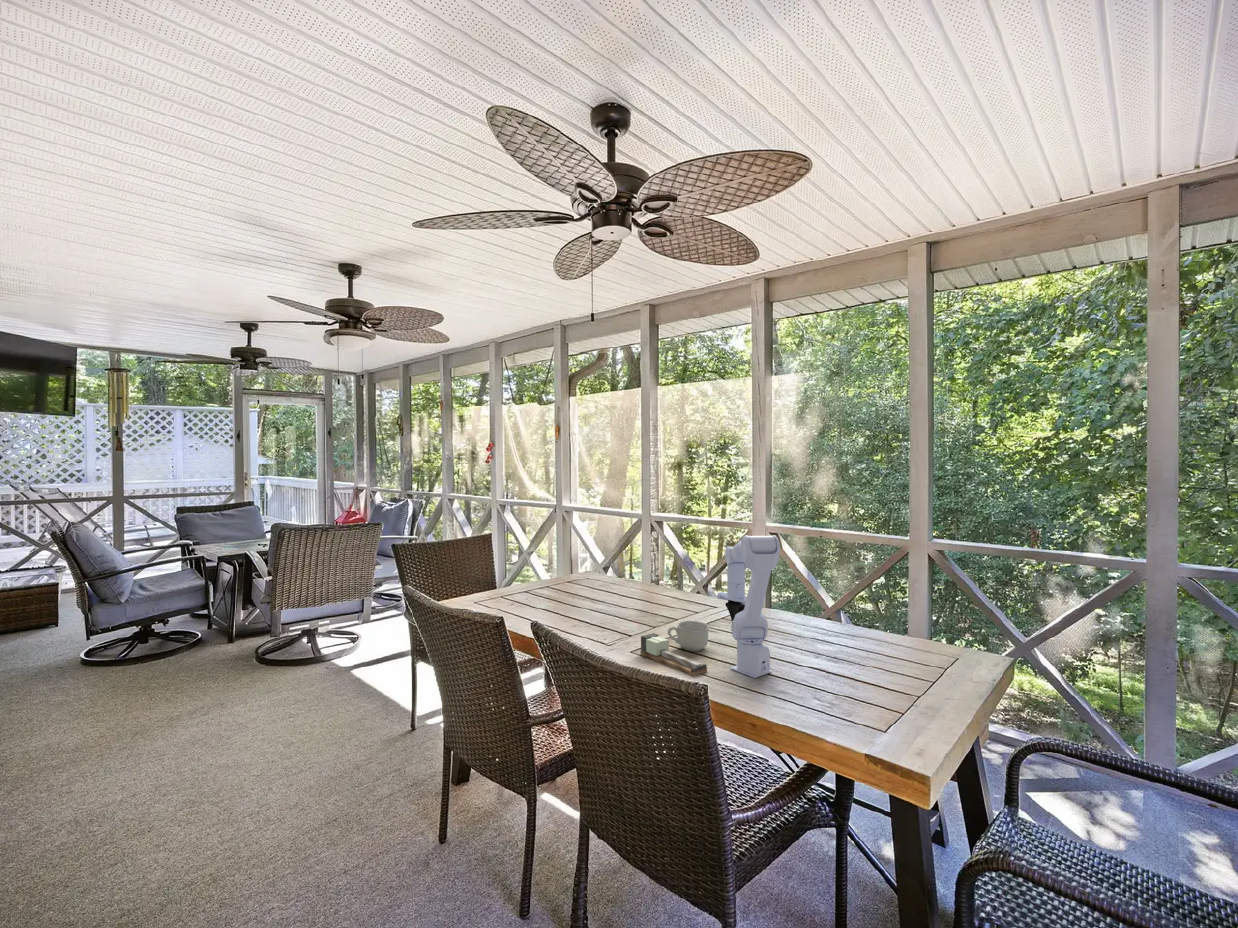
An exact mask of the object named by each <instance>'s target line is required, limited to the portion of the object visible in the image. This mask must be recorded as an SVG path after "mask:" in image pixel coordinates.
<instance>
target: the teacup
mask: <svg viewBox="0 0 1238 928" xmlns="http://www.w3.org/2000/svg"><path fill="white" fill-rule="evenodd" d="M709 629H710V625H708V624H707V623H705V622H701V621H697V620H682V621H680V622H677V626H674V625H673V626H670V627H668V629H667V635H668V637H669V638H670V639H671V640H673V641H674V642H675V643H676V644H678V645H679V646H680V647H681V648H682V649H684V650H685V651H688V652H700V651H701V650H703V649H705V647H707V645H708V642H709V631H710V630H709ZM673 630H675V633H676V634H677V635H676V637H675V636H673V635H672V631H673Z"/></svg>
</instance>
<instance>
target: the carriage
mask: <svg viewBox="0 0 1238 928" xmlns="http://www.w3.org/2000/svg"><path fill="white" fill-rule="evenodd" d="M669 644H670V640H669V639H668V638H665V637H662V636H660V635H659V636H657V637H651V638H649V639H646V652H648V653H650V654H653V655H655V656H658V655H660V650H666V651H668V652H670V645H669Z"/></svg>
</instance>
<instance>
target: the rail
mask: <svg viewBox="0 0 1238 928" xmlns="http://www.w3.org/2000/svg"><path fill="white" fill-rule="evenodd" d="M657 636H660V635H659V634H657V633H656V632H655V633H654V632H653V633H649V634H644V635H641V636H640V653H639V654H640V655H641V656H643V657H645V658H648V659H650V660H653V661H655V662H657V663H661V664H662V665H665V666H667V667H670V668H673V669H675V670H677V671H680V672H682V673H685V674H686V675H689V676H691V677H696V676H697V675H700V674H704V673H707V672H708V667H707V664H706V663H699V662H697V661H694V660H692V659H689V658H687V657H683V656H682V655H678V654H676V653H674V652H672V651H669V652H668V651H666V650H660V655H658V656H655V655H653V654H650V653H648V652H646V639H649V638H651V637H657Z"/></svg>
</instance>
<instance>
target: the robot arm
mask: <svg viewBox="0 0 1238 928" xmlns="http://www.w3.org/2000/svg"><path fill="white" fill-rule="evenodd" d="M780 545H781V544H780V541H779V538H778V537H777V535H774V534H773V535H743V536H742V538H741V539H740V540H738V542H737V543H736V544H734V546H729V545H727V546H726V547H725V551H724V558H725V563H726V564H727V565H726V568H727V570H726V571H727V572H726V573H727V575H726V576H727V577H726V578H727V579H726V580H727V581H726V583H727V584H726V586H727V589H726V591H727V592H722V591H720V592H717V600H725V601H727V602H725V607H726V609H727V610H728V612H729V616H730V619H731V623H730V624H731V625H730V626H731V629H730V630H731V636H732V638H733V639H734V640H735V641H736V665H734V666H731V667H730V669H731V671H735V672H738V673H741V674H743V675H746V676H749V677H751V678H753V679H755V678H759V677H761V676H765V675H767V674H771V673H772V669H771V666H770V665H771V652H770V649H769V647H768V646H766V645H764V640H766V638H767V637H768V632H769V631H768V626H769V623H768V619H767V617H766V615H765V614H764V613H763V612H762V609H763V606H764V603H765V598H766V594H767V590H768V589H767V588H768V586H769V581H770V577H771V573H772V570H773V569H775V568H777V565H778V562H779V558H780V555H781V548H780V547H781V546H780ZM747 569H748V570H749V571H751V577H750V581H749V586H748V590H747V595H746V570H747Z"/></svg>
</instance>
